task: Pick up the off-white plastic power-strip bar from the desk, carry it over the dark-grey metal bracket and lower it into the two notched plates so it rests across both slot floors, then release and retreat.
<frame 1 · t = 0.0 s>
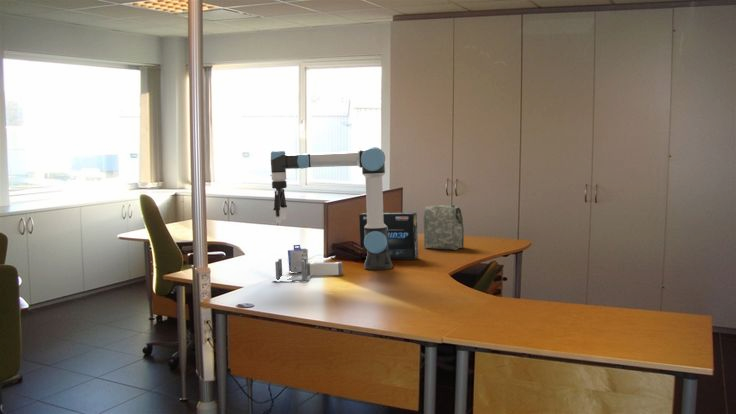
hand: (281, 221, 357), 28 cm above the table, fingers open, 13 cm apart
bag: (444, 248, 429), on the table
bracket: (292, 279, 344), on the table
ink cartridge box: (298, 272, 364), on the table
strip bar: (324, 274, 355), on the table
box: (389, 258, 398), on the table
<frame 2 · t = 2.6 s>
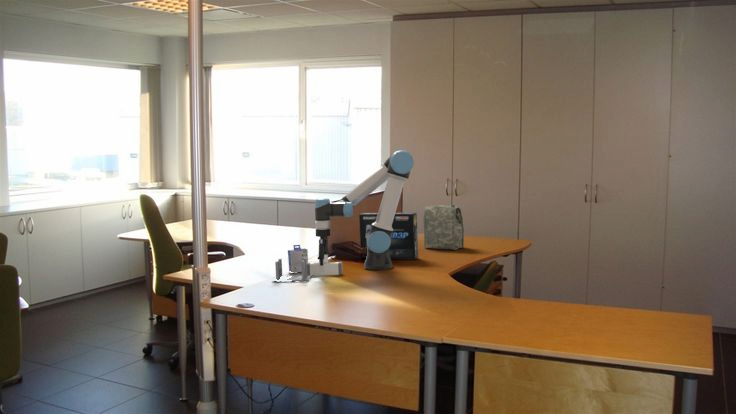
hand: (323, 269, 355), 3 cm above the table, fingers open, 13 cm apart
nothing on the table moved.
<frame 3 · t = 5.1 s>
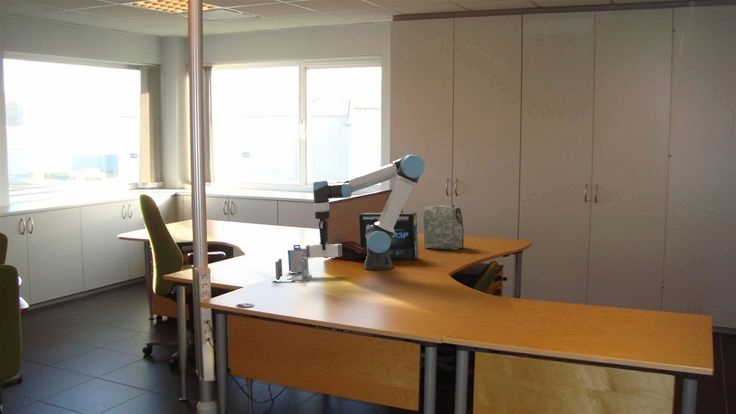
hand: (325, 255, 354), 10 cm above the table, fingers closed on strip bar, 4 cm apart
strip bar: (324, 256, 354), point 9 cm above the table, touching gripper
everything else where it was.
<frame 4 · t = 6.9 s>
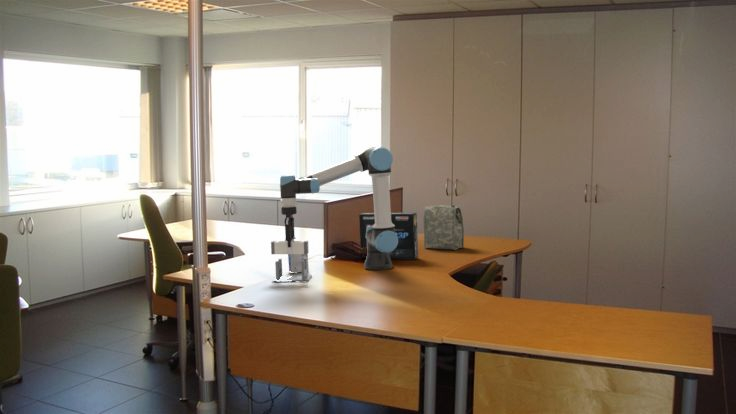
hand: (290, 252, 343), 14 cm above the table, fingers closed on strip bar, 4 cm apart
strip bar: (290, 253, 343), point 13 cm above the table, touching gripper
everything else where it was.
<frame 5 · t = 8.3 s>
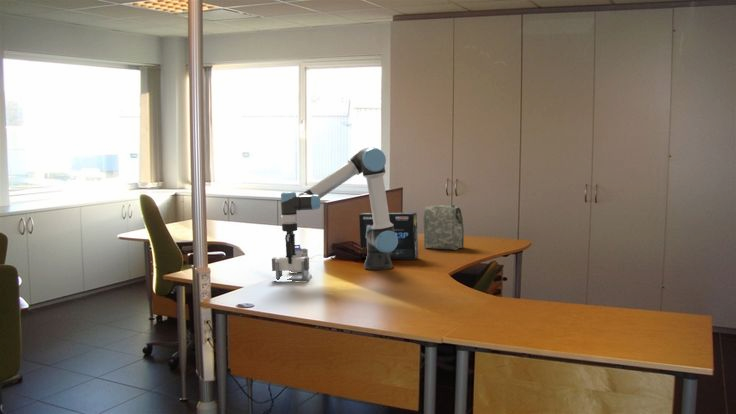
hand: (291, 269, 344), 5 cm above the table, fingers closed on strip bar, 4 cm apart
strip bar: (290, 269, 344), point 5 cm above the table, touching bracket, gripper
everything else where it was.
when the fingers open (5 cm above the table, at t = 8.9 s): strip bar stays where it is, resting on bracket.
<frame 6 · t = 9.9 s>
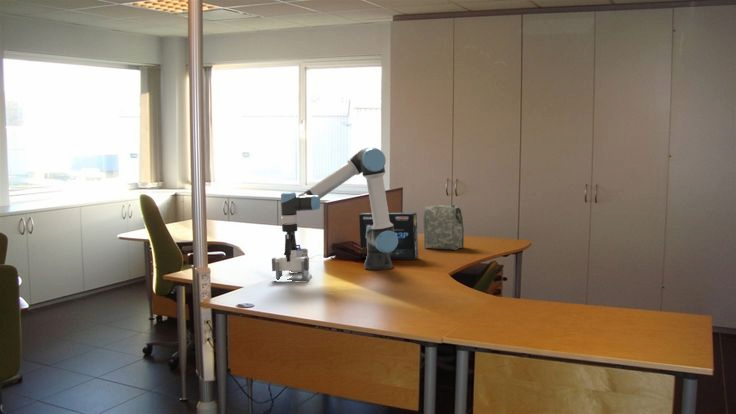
hand: (291, 265, 343), 7 cm above the table, fingers open, 13 cm apart
strip bar: (290, 269, 344), point 5 cm above the table, touching bracket
everything else where it was.
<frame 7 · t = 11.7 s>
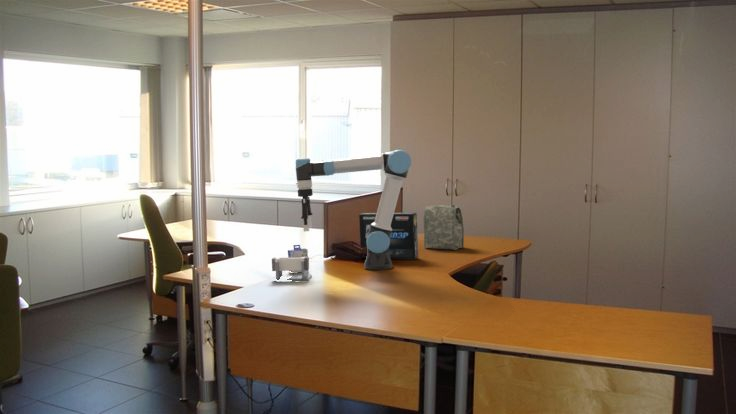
hand: (307, 229, 354), 24 cm above the table, fingers open, 13 cm apart
nothing on the table moved.
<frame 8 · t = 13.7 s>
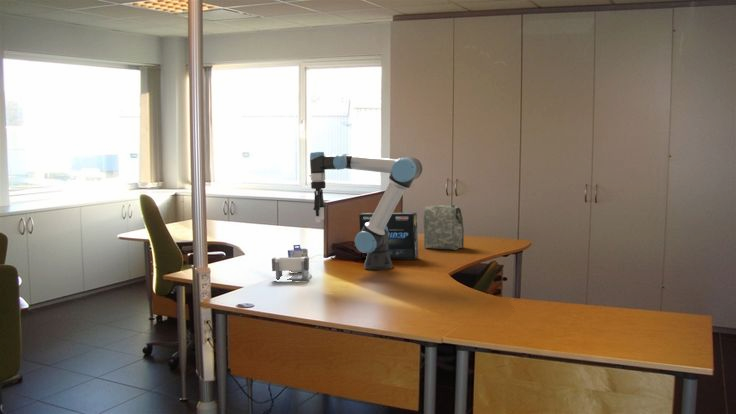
hand: (319, 221, 364), 27 cm above the table, fingers open, 13 cm apart
nothing on the table moved.
at the end: strip bar 0.5 cm off-centre on the bracket, point 5.0 cm above the bracket's base; strip bar tilted 0°; the gripper is holding nothing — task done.
